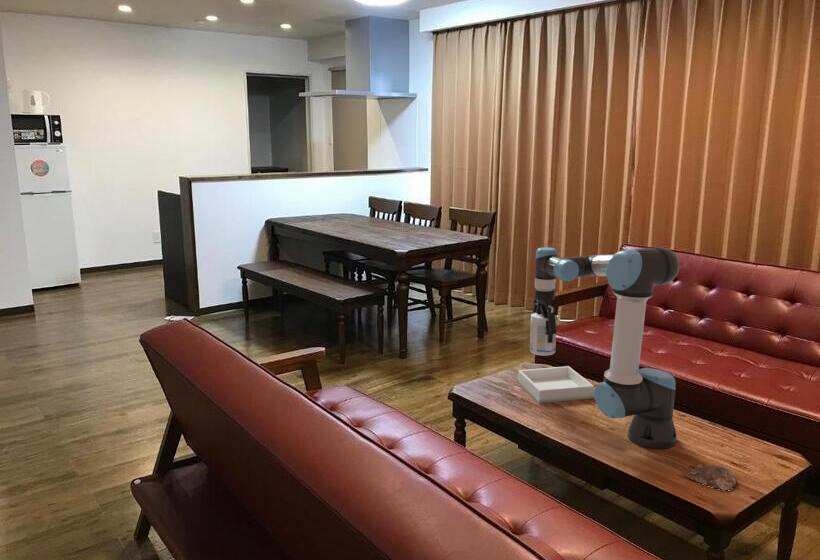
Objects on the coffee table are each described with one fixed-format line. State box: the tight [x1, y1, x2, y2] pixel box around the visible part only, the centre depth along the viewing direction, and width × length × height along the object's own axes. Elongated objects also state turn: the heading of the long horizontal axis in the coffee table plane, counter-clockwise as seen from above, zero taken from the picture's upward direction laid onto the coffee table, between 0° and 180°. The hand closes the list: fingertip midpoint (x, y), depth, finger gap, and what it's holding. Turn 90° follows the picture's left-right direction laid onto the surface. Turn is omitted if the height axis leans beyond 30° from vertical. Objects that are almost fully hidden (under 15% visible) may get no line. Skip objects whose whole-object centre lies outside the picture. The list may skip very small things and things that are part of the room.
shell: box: [685, 463, 737, 491], centre depth 191 cm, size 12×13×4 cm
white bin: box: [517, 365, 595, 404], centre depth 257 cm, size 22×22×5 cm
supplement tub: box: [529, 312, 557, 357], centre depth 248 cm, size 10×10×15 cm
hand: (542, 346), depth 249 cm, fingers closed on supplement tub, 10 cm apart
